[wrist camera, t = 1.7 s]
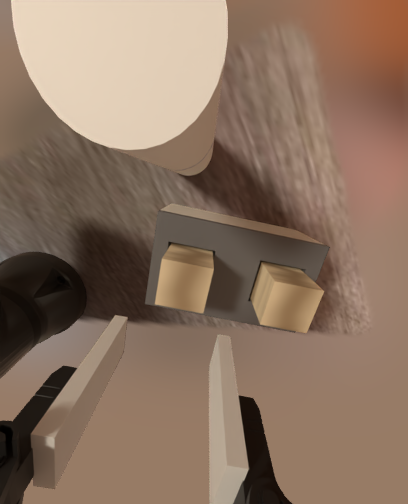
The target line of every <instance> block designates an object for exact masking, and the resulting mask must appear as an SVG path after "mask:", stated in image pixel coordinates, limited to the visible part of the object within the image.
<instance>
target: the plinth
mask: <svg viewBox="0 0 408 504" xmlns="http://www.w3.org/2000/svg"><path fill="white" fill-rule="evenodd" d="M172 242H174V243H179V244H184V245H189V246H193V247H198V248H203V249H208V250H213V263H214V271H213V275H212V279H211V283H210V287H209V292H208V296H207V300H206V304H205V308H204V312H203V313H198V312H192V311H187V310H182V309H177V308H172V307H166V306H161V305H156V304H155V300H156V293H157V287H158V281H159V274H160V268H161V261H162V258H163V256H164V254H165V253H166V251H167V250H168V248H169V246H170V245H171V243H172ZM329 248H330V247H328V246H326V245H324V244H323V243H321V242H319V241H317V240H315V239H313V238H311V237H309V236H307V235H305V234H303V233H301V232H299V231H297V230H295V229H290V228H285V227H281V226H276V225H271V224H266V223H262V222H257V221H252V220H248V219H243V218H238V217H234V216H229V215H224V214H220V213H215V212H210V211H205V210H201V209H196V208H191V207H187V206H182V205H177V204H173V203H172V204H170V205H169V206H167V207H165V208H163V209H161V210H159V211H158V215H157V222H156V229H155V236H154V243H153V250H152V257H151V264H150V271H149V278H148V286H147V293H146V300H145V304H147V305H153V306H158V307H163V308H168V309H174V310H179V311H184V312H189V313H195V314H200V315H205V316H210V317H216V318H221V319H226V320H231V321H236V322H242V323H247V324H252V325H257V326H263V327H268V328H273V329H278V330H284V331H289V332H294V333H295V332H296V331H292V330H287V329H281V328H276V327H271V326H266V325H260V323H259V320H258V317H257V315H256V312H255V309H254V307H253V304H252V301H251V299H250V293H251V290H252V286H253V283H254V280H255V277H256V273H257V270H258V267H259V264H260V260H262V261H267V262H272V263H276V264H281V265H286V266H291V267H296V268H300V269H301V270H302V271H303V272H304V273H305V274H306V275H307V276H308V277H309V278H310V279H312V280H313V281H314V282H316V280H317V277H318V275H319V273H320V270H321V268H322V265H323V263H324V260H325V258H326V255H327V253H328V250H329Z"/></svg>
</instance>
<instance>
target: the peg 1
mask: <svg viewBox="0 0 408 504" xmlns="http://www.w3.org/2000/svg"><path fill="white" fill-rule="evenodd" d="M213 271H214V263H213V250H208V249H203V248H198V247H193V246H189V245H184V244H179V243H174V242H172V243H171V245H170V246H169V248H168V250H167V251H166V253H165V254H164V256H163V258H162V261H161V268H160V274H159V281H158V287H157V293H156V300H155V304H156V305H161V306H166V307H172V308H177V309H182V310H187V311H192V312H198V313H203V312H204V308H205V304H206V300H207V296H208V292H209V287H210V283H211V279H212V275H213Z"/></svg>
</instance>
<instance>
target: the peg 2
mask: <svg viewBox="0 0 408 504" xmlns="http://www.w3.org/2000/svg"><path fill="white" fill-rule="evenodd" d="M323 293H324V290H322V289H321V288H320V287H319V286H318V285H317V284H316V283H315V282H314V281H313V280H312V279H310V278H309V277H308V276H307V275H306V274H305V273H304V272H303V271H302V270H301V269H300V268H296V267H291V266H286V265H281V264H276V263H272V262H267V261H262V260H260V264H259V267H258V270H257V273H256V277H255V280H254V283H253V286H252V290H251V293H250V299H251V301H252V304H253V307H254V309H255V312H256V315H257V317H258V320H259V323H260V325H266V326H271V327H276V328H281V329H287V330H292V331H297V332H302V333H307V331H308V329H309V326H310V324H311V322H312V319H313V317H314V314H315V312H316V310H317V307H318V305H319V303H320V300H321V298H322V296H323Z"/></svg>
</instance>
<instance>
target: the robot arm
mask: <svg viewBox="0 0 408 504" xmlns="http://www.w3.org/2000/svg"><path fill="white" fill-rule="evenodd" d="M85 306H86V291H85V288H84V285H83V283H82V281H81V279H80V277H79V276H78V274H77V273H76V272H75V271H74V270H73V269H72V268H71V267H70V266H69V265H68V264H67V263H65V262H64V261H62V260H61V259H59V258H57V257H55V256H52V255H50V254H46V253H42V252H26V253H22V254H19V255H16V256H13V257H11V258H8V259H6V260H4V261H3V262H1V263H0V378H1V377H2V376H4V375H5V374H6V373H7V372H8V371H9V370H10V369H11V368H12V367H13V366H14V365H15V364H16V363H17V362H18V361H19V360H20V359H21V358H22V357H23V356H25V354H26V353H28V352H29V351H30V350H31V349H32V348H33V347H34V346H35V345H36V344H38V343H41V342H42V341H44V340H46V339H48V338H50V337H51V336H53V335H56V334H58V333H61V332H63V331H65V330H66V329H68V328H69V327H70V326H71V325H72V324H74V323H75V322H76V321H77V320H78V318H79V317H80V316H81V315H82V313H83V311H84V309H85ZM127 319H128V317H124V316H118V315H115V316H114V318H113V319H112V320H111V322H110V323H109V325H108V326H107V327H106V329H105V330H104V332H103V333H102V334H101V336H100V337H99V339H98V340H97V342H96V343H95V344H94V346H93V347H92V349H91V350H90V351H89V353H88V354H87V356H86V357H85V359H84V360H83V361H82V363H81V364H80V365H79V367H78V368H74V367H69V366H62V367H61V368H59V369H58V370H57V371H55V372H54V373H52V374H51V375H50V377H49V378H48V379H47V380H46V381H45V383H44V384H43V386H42V387H41V388H40V389H39V390H38V391H37V392H36V394H35V396H33V397H32V398H31V400H30V401H29V402H28V403H27V404H26V406H25V407H24V408H23V409H22V410H21V412H20V413H19V414H18V415H17V417H16V418H15V419H14V420H13V421H0V504H22V501H23V496H24V491H25V489H26V488H27V486H28V484H29V483H30V481H31V479H32V478H33V485H34V486H37V487H45V488H51V489H55V488H56V486H57V484H58V482H59V480H60V478H61V476H62V474H63V472H64V470H65V468H66V466H67V464H68V462H69V460H70V458H71V456H72V454H73V452H74V450H75V448H76V446H77V444H78V442H79V440H80V438H81V436H82V434H83V432H84V430H85V428H86V426H87V424H88V422H89V420H90V418H91V416H92V414H93V412H94V410H95V408H96V406H97V404H98V402H99V400H100V398H101V396H102V394H103V392H104V390H105V388H106V386H107V384H108V382H109V380H110V378H111V377H112V375H113V373H114V370H115V369H116V367H117V365H118V363H119V361H120V359H121V356H122V354H123V352H124V344H125V336H126V328H127ZM209 478H210V479H209V480H210V481H209V483H210V484H209V486H210V487H209V491H210V492H209V493H210V494H209V496H210V504H292V503H291V502H290V501H289V500H288V499H287V498H286V497H285V496H284V494H283V492H282V491H281V489H280V488H279V486H278V484H277V482H276V479H275V476H274V472H273V467H272V463H271V458H270V454H269V450H268V446H267V441H266V437H265V434H264V428H263V424H262V419H261V415H260V410H259V408H258V406H257V404H256V403H255V401H254V399H253V398H249V397H244V396H238V390H237V383H236V376H235V369H234V362H233V355H232V348H231V341H230V337H229V336H225V335H219V334H218V337H217V340H216V344H215V348H214V351H213V355H212V359H211V362H210V366H209Z"/></svg>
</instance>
